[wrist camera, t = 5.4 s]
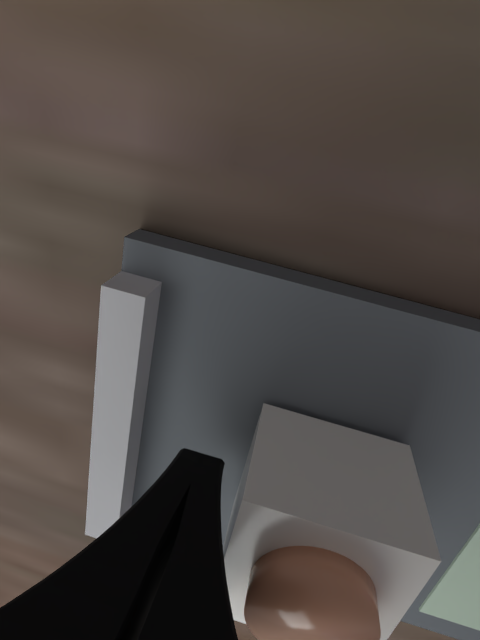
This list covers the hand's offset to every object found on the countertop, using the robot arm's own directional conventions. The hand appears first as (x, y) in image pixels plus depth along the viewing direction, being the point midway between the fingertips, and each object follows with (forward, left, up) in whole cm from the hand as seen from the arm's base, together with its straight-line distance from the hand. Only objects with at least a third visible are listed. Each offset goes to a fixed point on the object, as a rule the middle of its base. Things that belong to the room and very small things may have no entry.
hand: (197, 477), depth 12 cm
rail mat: (-5, 0, -3) cm, 6 cm away
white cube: (-3, 0, -1) cm, 4 cm away
